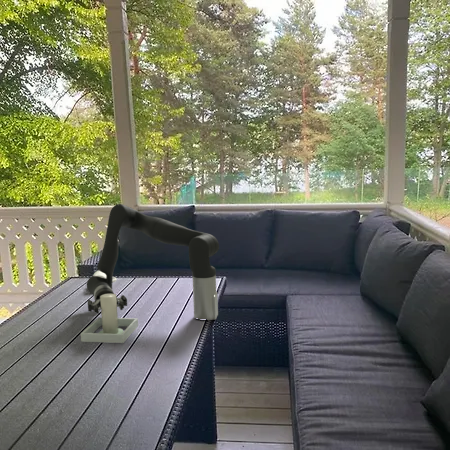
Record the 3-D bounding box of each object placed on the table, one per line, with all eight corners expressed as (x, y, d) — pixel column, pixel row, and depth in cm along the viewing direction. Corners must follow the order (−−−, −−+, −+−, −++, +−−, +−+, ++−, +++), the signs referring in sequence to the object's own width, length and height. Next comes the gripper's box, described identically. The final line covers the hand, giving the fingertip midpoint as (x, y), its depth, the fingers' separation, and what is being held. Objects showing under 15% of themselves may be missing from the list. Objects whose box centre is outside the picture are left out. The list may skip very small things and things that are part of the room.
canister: (120, 329, 166) (118, 293, 163) (115, 335, 160) (112, 298, 158) (106, 329, 166) (104, 293, 164) (100, 335, 161) (97, 298, 159)
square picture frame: (138, 325, 170) (137, 318, 169) (123, 343, 155) (122, 335, 154) (99, 324, 172) (99, 317, 172) (81, 341, 157) (80, 333, 156)
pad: (126, 329, 167) (126, 328, 167) (117, 338, 158) (117, 337, 158) (104, 328, 168) (104, 327, 168) (94, 338, 160) (94, 337, 159)
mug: (91, 291, 215) (90, 276, 214) (93, 286, 224) (92, 270, 223) (116, 289, 217) (115, 274, 216) (117, 284, 227) (116, 269, 225)
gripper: (84, 289, 172) (88, 302, 157) (121, 284, 177) (128, 296, 162) (86, 308, 173) (90, 322, 158) (123, 302, 178) (130, 315, 163)
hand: (109, 309), depth 160 cm, fingers open, 8 cm apart
